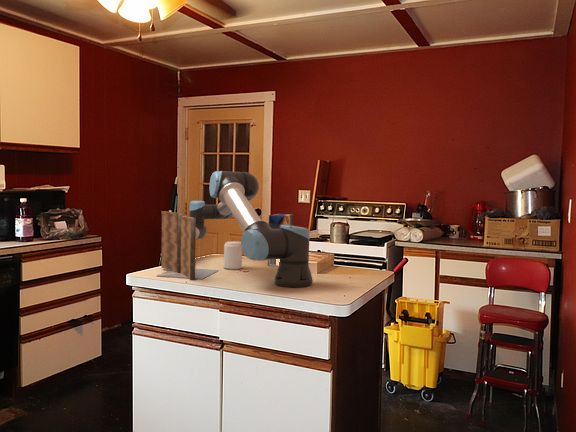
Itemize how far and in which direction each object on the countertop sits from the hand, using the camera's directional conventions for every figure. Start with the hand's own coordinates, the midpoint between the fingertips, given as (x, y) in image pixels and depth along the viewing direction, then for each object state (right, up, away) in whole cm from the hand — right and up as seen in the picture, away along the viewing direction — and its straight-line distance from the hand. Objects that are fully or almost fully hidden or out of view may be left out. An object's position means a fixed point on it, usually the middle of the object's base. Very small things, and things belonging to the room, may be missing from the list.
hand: (167, 239), depth 230 cm
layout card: (+11, -14, -7) cm, 19 cm away
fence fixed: (+11, -15, -14) cm, 23 cm away
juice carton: (+49, -13, +22) cm, 55 cm away
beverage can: (+28, -14, +8) cm, 32 cm away
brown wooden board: (+2, -13, -3) cm, 13 cm away
